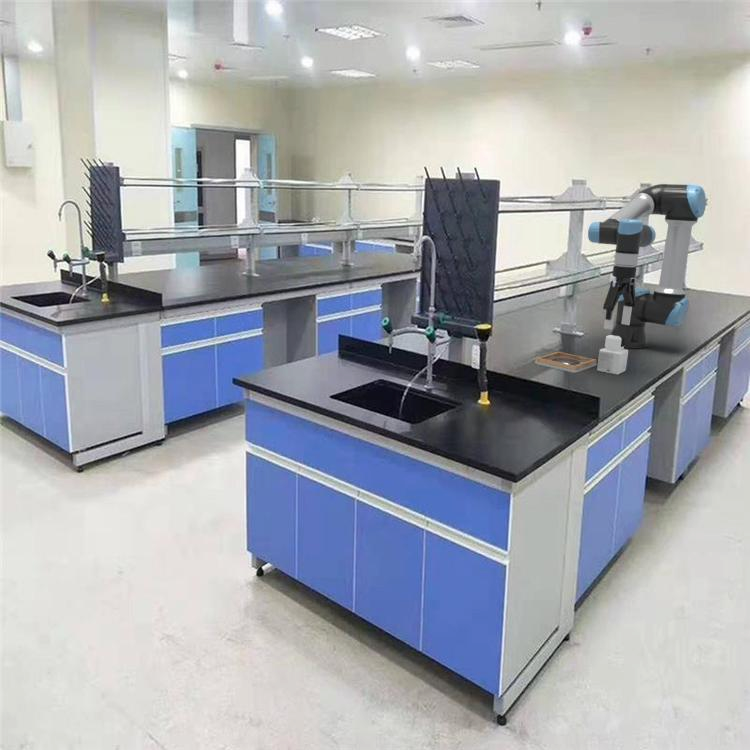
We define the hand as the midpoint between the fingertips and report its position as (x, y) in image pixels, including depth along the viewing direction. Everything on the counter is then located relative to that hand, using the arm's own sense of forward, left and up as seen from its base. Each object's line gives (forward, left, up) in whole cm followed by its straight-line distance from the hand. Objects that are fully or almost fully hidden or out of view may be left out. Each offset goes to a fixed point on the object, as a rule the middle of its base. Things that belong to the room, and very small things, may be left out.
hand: (616, 326), depth 245 cm
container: (0, 0, -16) cm, 16 cm away
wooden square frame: (+5, -15, -16) cm, 23 cm away
